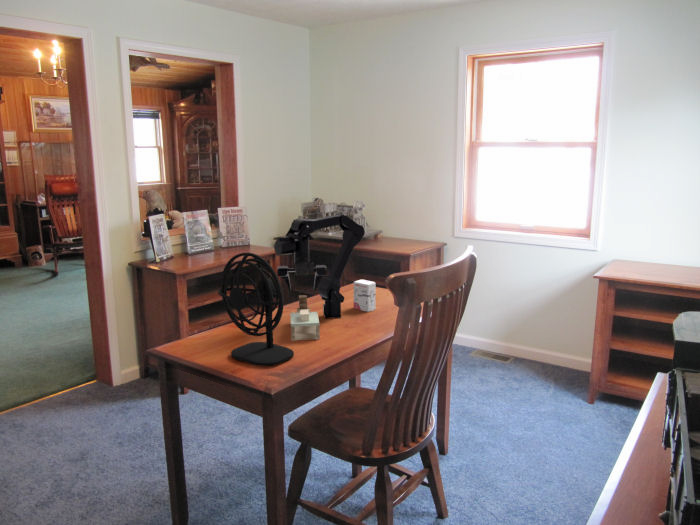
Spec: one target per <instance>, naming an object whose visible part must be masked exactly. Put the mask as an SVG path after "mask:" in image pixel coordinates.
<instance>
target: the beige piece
mask: <svg viewBox="0 0 700 525" xmlns="http://www.w3.org/2000/svg"><path fill="white" fill-rule="evenodd" d="M310 307H311V306H310ZM310 307H308V306H307V309H308V311H309V312H311V308H310ZM299 312H300V309H299V307H297V308H296V313H299ZM320 329H321V328H320V325H319V326H297V327H291V326H290V339H291V340H290V341H308V340H310V339H312V340H320V339H321V338H320V336H321V335H320V333H321V332H320ZM310 341H311V340H310Z"/></svg>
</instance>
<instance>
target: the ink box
mask: <svg viewBox="0 0 700 525" xmlns="http://www.w3.org/2000/svg"><path fill="white" fill-rule="evenodd" d="M376 291H377V290H376V282H375V281H371V280H366V279H359V280H355V281H353V309H354V310H359V311H364V312H368V313H369V312H372V311H375V310H376Z"/></svg>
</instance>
